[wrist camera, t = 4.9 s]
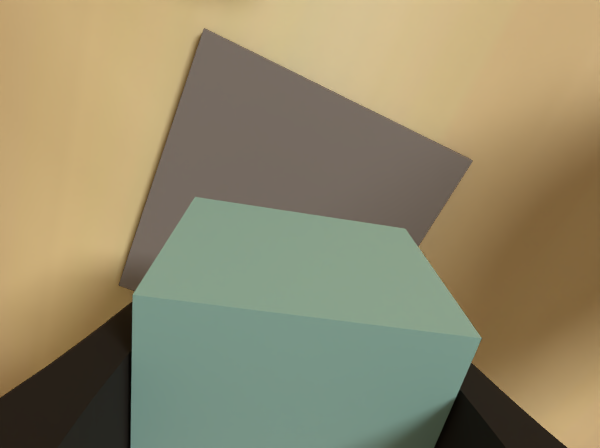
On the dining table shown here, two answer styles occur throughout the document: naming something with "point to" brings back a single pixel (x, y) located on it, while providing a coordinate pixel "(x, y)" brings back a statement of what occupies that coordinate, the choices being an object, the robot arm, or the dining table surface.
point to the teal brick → (293, 335)
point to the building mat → (286, 154)
